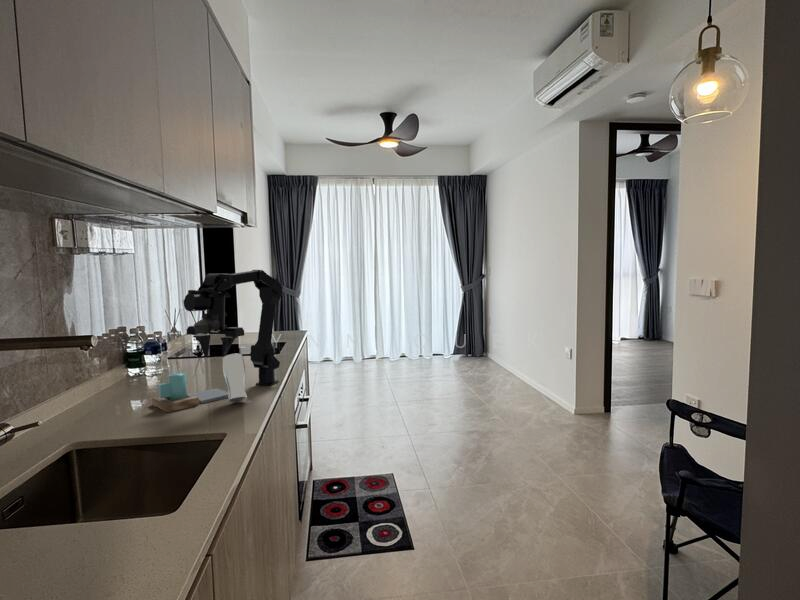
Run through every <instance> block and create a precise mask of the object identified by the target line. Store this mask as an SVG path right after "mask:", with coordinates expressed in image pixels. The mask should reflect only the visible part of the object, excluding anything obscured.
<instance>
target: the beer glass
mask: <svg viewBox="0 0 800 600" xmlns="http://www.w3.org/2000/svg"><path fill="white" fill-rule="evenodd" d="M244 360H245V359H244V357H243V354H241V353H231V354H226V356H224V357H223V356H222V370H223V378H224V381H225V384H226V387H227V392H228V398H227V402H228V403H233V404H234V403H235V402H236V403H241V402H244V401H246V400H247V399H248V394H247V391H246V385H245V384H246V365H245V361H244Z"/></svg>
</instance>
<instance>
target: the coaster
mask: <svg viewBox="0 0 800 600" xmlns="http://www.w3.org/2000/svg"><path fill="white" fill-rule="evenodd" d="M193 396H196V397H199V404H202V405H203V404H207V403H211V402H214V401H219V400H223V398H224V399H228V398H227V397H228V390H223V389H221V388H216V387H215V388H211V389H207V390H203V391H199V392H194V393H189V394H188V393H187V398H188V397H193Z"/></svg>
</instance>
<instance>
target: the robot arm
mask: <svg viewBox="0 0 800 600" xmlns="http://www.w3.org/2000/svg"><path fill="white" fill-rule="evenodd" d="M252 282H253V284H254V287H255V288H256V289H257V290H258V291H259V292H258V293H259V299H260V302H261V310H260V311H261V312H260V319H259V320H260V321H259V325H258V326H259V327H258V336H257V341H256V342H255V344H251V346H250V353H249V357H250V361H251V362H252V365H253V367H254V368H258V382H255V385H256V386H267V385H269V387H270V385H271V386H273V385H274V384H277V383H279V380H278V379H276V376H275V375H276V373H275V370H276V369H278V368H280V364H281V362H280V361H279V359H278V358H277V357H275V348H274V346H273V344H272V338H273V330H274V329H273V328H274V321H275V313H276V305H277V304H278V302H279V301H280V300H281V297H282V293H283V285H282V284H281V282H279V281H278V280H276V279H275V278H274V277H272V276H271V275H269V274H268V273H267V272H266V271H264V270H263V269H252V270H247V271H241V272H236V273H208V274H206V275H205V277H204V280H203V281H202V283H201V284H200V285H199V287H198V289H197V290H195V289H188V290H187V291H188V292H187V294H186V295H185V296H184V299H183V306H184V309H185V310H186V311H187V312H204V311H206V313H203V317H202V319H200V320H199V321H196V322H195V323H194V324H193V325H188V326H187V328H186V335H187V336H189V335H190V336H192V338H195V339H196V340H197V341H198V342H199V344H200V348H201V350H202V353H203V356H205V357H208V355H209V352H210V343H211V335H215V334H216V335H224V336H221V337H220V340H221V341H222V346H221V347H222V348H221V351H222V352H221V356H222V358H223V357H224V356H226V355H228V352H229V350H230V349H231V346H232V345H233V343H234V341H235V340H236V339H237V338H239V337H244V336H245V330H244V328H243V327H242V326H241V327H239V326H233V327H228V325H227V324H226V322H225V320H226V317H227V316H228V313H227V312H226V298H230V297H231V295H230V293H228V291H227V290H229V289H230V288H232V287H234V286H235V285H236V286H237V285H240V284H245V283H252Z"/></svg>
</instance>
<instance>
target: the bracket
mask: <svg viewBox="0 0 800 600" xmlns="http://www.w3.org/2000/svg"><path fill="white" fill-rule="evenodd" d="M151 405H152V406H153V407H155V406H156V407H155V408H157V407H158V408H157V409H159V408H160V409H159V410H161V409H162V411H163V410H164V411H163V412H165V411H166V413H167V412H168V413H170V412H171V413H172V412H176V411H180V410H184V409H188V408H192V407H196V406H199V405H200V403H199V397H196V396H193V397H188V398H184V399H180V400H175V401H170V399H169V397H166V398H159V395H158V396H153V397H151Z"/></svg>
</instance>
